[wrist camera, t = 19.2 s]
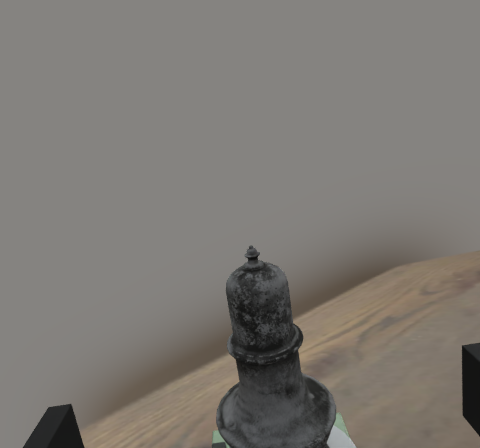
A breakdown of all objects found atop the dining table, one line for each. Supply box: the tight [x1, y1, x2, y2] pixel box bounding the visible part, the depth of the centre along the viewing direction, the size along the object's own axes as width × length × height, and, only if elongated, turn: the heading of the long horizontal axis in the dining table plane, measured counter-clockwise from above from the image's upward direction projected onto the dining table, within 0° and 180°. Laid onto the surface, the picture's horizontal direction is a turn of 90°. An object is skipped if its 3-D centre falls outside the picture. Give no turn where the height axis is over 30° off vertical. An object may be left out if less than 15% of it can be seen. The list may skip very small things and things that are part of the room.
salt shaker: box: [216, 246, 336, 448], centre depth 19 cm, size 6×6×12 cm
